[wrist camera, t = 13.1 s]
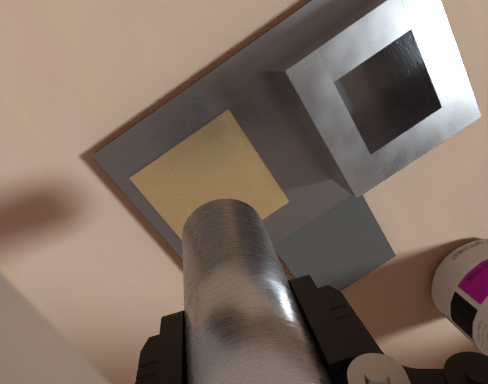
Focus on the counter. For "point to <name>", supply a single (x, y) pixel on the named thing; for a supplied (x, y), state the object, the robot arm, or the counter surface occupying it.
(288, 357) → the silver domed cylinder
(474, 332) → the supplement can
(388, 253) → the mat
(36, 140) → the counter surface
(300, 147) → the plate
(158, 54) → the counter surface
